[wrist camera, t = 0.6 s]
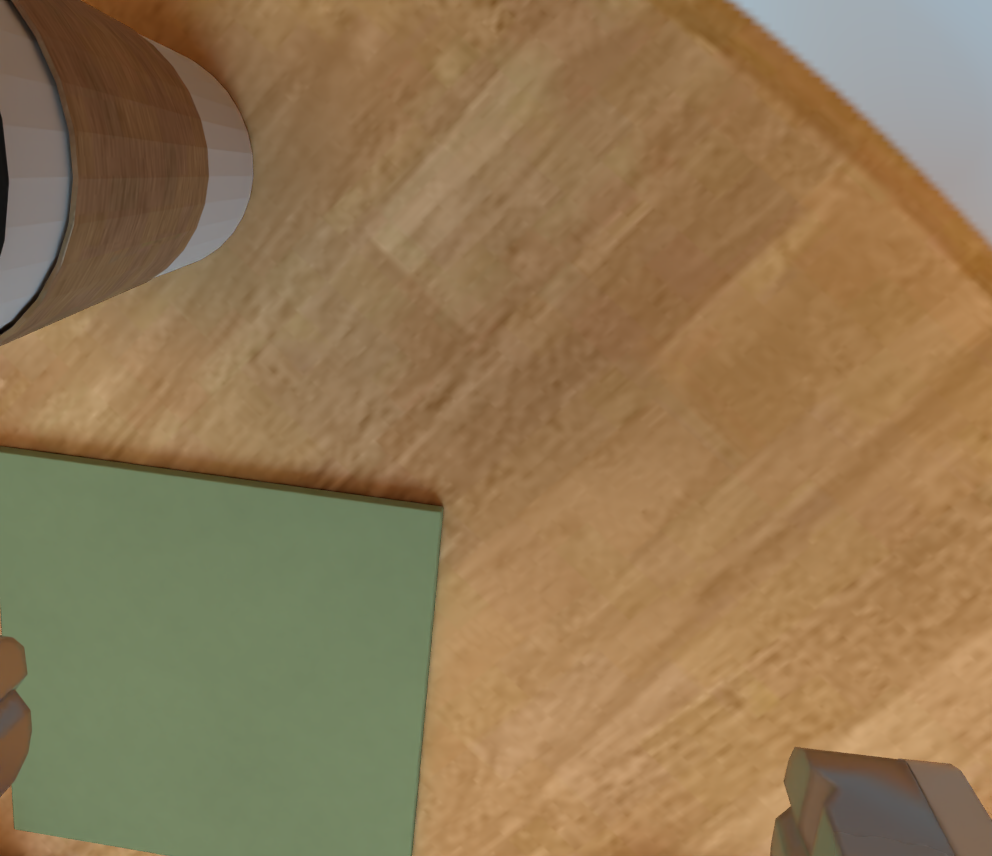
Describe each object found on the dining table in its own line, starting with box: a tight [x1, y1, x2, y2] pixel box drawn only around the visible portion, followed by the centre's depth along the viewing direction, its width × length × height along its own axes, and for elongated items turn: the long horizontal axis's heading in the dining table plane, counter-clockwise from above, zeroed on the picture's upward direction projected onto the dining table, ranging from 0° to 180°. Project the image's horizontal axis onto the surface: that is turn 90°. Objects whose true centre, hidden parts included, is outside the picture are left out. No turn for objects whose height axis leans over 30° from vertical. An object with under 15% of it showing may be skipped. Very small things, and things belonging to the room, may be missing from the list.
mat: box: [0, 446, 444, 856], centre depth 28 cm, size 14×14×1 cm
